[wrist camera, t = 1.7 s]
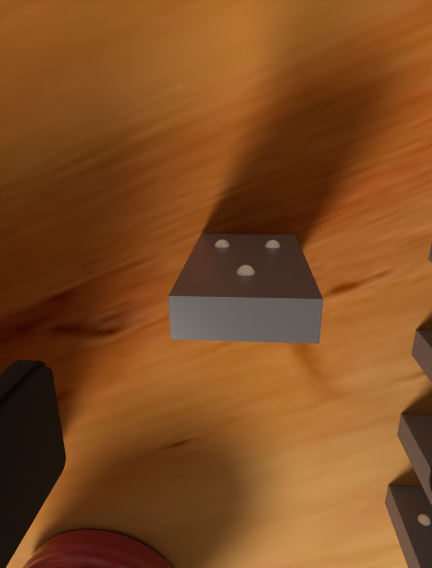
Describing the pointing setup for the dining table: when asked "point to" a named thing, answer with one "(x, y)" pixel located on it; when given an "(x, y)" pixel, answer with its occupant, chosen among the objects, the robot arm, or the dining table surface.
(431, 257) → the domino
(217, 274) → the domino
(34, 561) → the canister
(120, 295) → the dining table surface
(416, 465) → the domino
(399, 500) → the domino
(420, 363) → the domino
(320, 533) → the dining table surface
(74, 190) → the dining table surface
